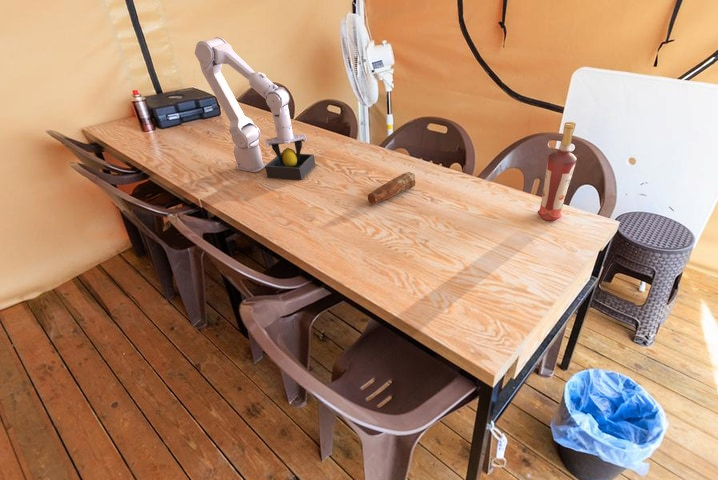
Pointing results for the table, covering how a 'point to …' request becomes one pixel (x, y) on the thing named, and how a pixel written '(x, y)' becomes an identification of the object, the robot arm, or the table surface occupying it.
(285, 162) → the lemon
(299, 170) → the bin
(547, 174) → the liquor
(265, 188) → the table surface
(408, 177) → the brown cylinder
